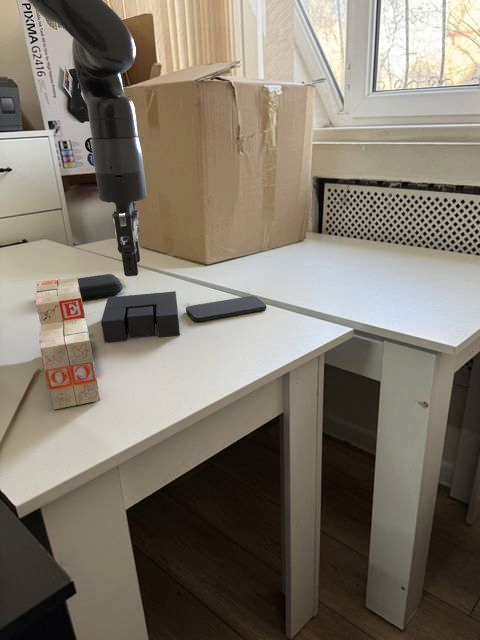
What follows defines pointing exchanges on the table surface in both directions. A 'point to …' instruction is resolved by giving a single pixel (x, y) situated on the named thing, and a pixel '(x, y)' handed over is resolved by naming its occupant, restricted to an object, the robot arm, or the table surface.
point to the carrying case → (99, 286)
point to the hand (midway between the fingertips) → (132, 268)
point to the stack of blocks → (65, 343)
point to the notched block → (118, 307)
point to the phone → (225, 308)
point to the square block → (141, 322)
